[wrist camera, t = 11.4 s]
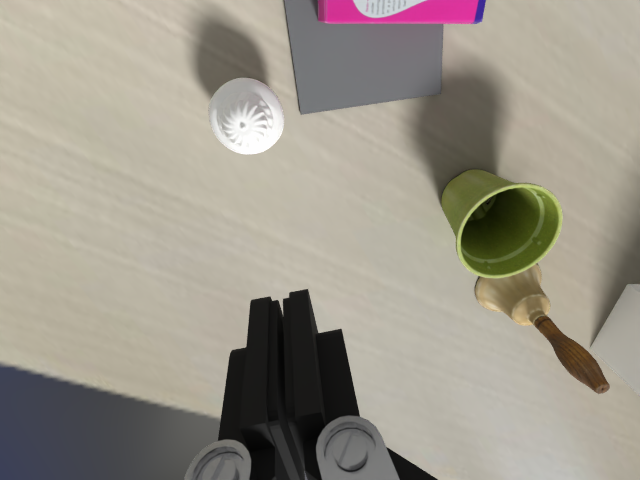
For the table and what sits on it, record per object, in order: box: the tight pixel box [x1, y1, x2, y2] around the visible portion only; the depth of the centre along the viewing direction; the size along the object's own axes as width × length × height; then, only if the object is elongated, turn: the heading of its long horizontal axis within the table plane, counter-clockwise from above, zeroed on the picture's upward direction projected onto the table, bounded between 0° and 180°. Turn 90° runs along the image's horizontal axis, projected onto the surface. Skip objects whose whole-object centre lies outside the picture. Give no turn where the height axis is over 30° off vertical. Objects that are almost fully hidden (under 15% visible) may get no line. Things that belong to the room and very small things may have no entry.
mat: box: [284, 0, 443, 115], centre depth 31 cm, size 16×13×1 cm
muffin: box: [209, 78, 284, 154], centre depth 31 cm, size 6×6×7 cm
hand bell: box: [475, 263, 610, 394], centre depth 40 cm, size 8×8×16 cm
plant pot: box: [441, 170, 562, 278], centre depth 37 cm, size 9×9×9 cm
